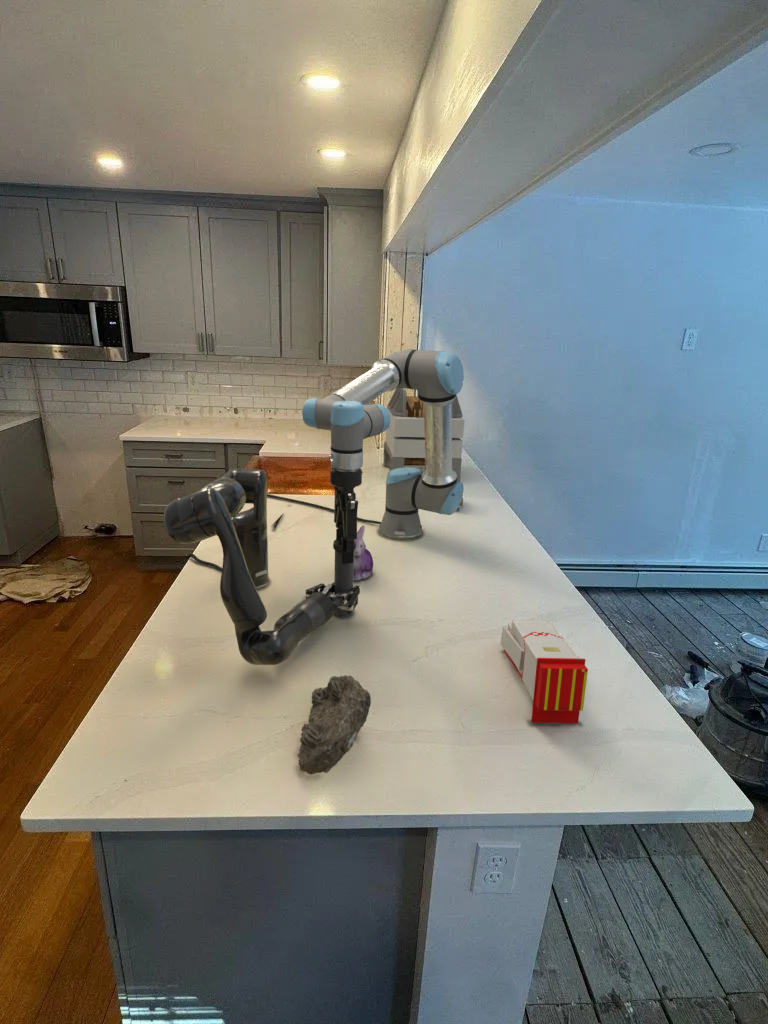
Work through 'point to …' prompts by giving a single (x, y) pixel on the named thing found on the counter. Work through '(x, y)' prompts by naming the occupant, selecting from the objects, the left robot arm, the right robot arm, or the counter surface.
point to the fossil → (333, 723)
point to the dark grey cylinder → (343, 579)
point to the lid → (340, 545)
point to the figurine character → (461, 503)
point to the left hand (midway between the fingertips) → (348, 586)
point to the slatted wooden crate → (416, 433)
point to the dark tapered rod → (277, 521)
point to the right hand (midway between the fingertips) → (344, 557)
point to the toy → (547, 670)
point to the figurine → (362, 558)
